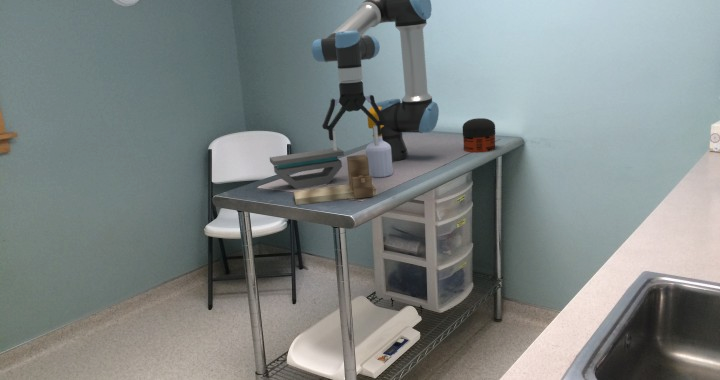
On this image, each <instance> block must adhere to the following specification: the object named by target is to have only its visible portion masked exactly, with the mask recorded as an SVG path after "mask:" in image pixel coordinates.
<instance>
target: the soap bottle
mask: <svg viewBox="0 0 720 380" xmlns="http://www.w3.org/2000/svg"><path fill="white" fill-rule="evenodd" d="M378 108H379V110H381V109H382V107H378ZM368 111H369V112H370V113H371V114H372V115H373V116H374V117H375V118H376V119H377V120H378V121H379V118H378V116H377V114H376V112H375V110H374V109H373V107H372V106H371V107H370V109H369V110H368ZM366 116H367V115H366ZM373 125H376V124H375V123H374V122H373V121H372V120H371V119H370V118H369V117H368V116H367V127H368V129H372V132H373V131H374V128H373ZM382 127H384V125H381V126H380V128H382ZM378 145H379V146H375V142H374V134H373V133H372V141H371V142H370V143H369V144H367V146H366V148H365V155H366V156H367V157H368V164H369V175H371V176H372V178H386V177H390V176H392V175H393V161H392V155H391V146H390V145H389V144H388V143H387V142H385V141H383V140H382V134H381V135H378Z"/></svg>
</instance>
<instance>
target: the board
mask: <svg viewBox="0 0 720 380" xmlns="http://www.w3.org/2000/svg"><path fill="white" fill-rule="evenodd" d="M372 186H373V196H377V188H376V186H374V184H373V183H372ZM293 197H294V201H295V206H299V205H309V204H315V203H324V202H332V201H333V202H334V201H339V200H347V198H349V199H354V198H353V197H354V190H352V189H351V187H350V186H349V183H348V184H342V185H340V184H339V185H334V186H325V187H317V188H310V189H309V188H308V189H302V190H294V191H293Z"/></svg>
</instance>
